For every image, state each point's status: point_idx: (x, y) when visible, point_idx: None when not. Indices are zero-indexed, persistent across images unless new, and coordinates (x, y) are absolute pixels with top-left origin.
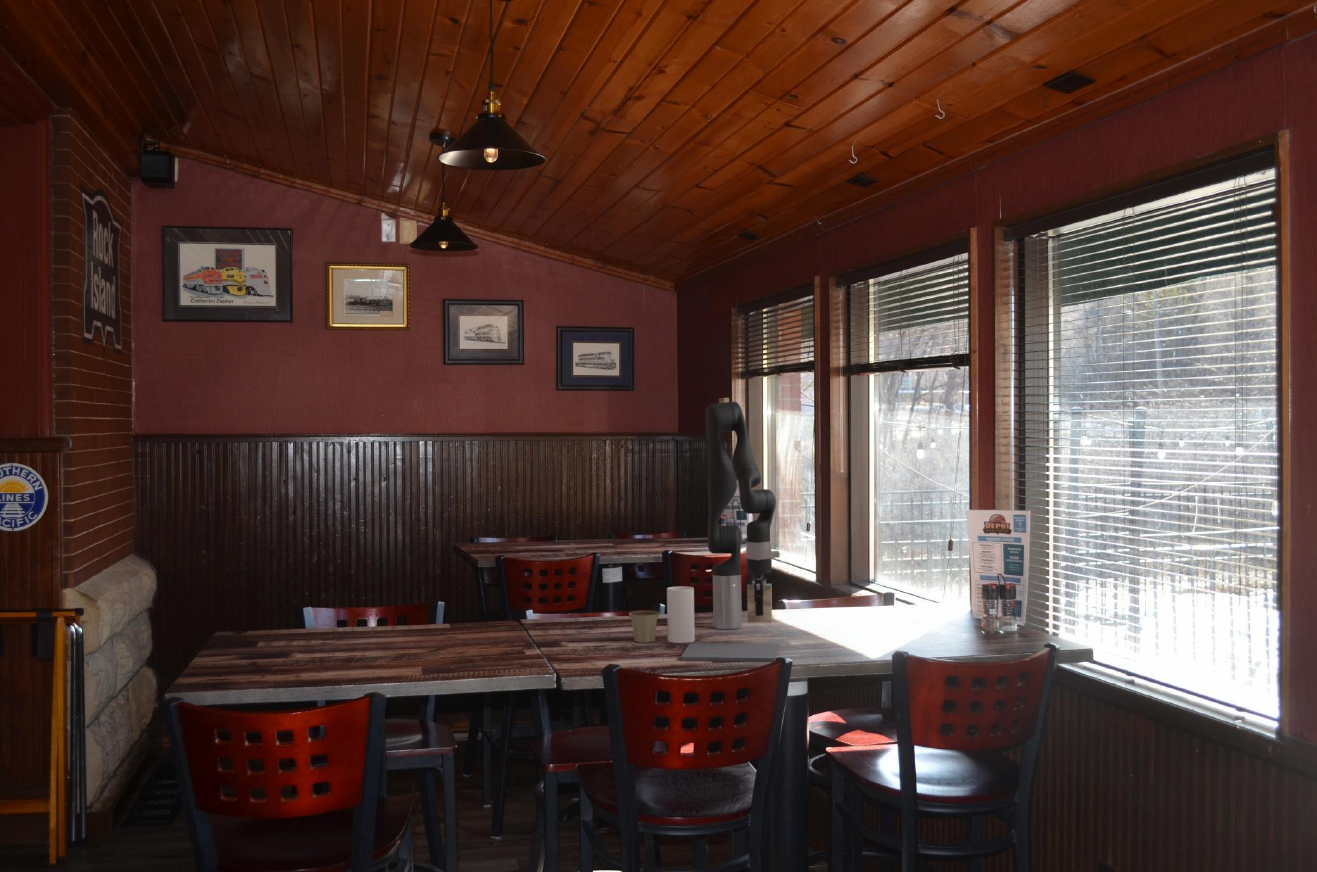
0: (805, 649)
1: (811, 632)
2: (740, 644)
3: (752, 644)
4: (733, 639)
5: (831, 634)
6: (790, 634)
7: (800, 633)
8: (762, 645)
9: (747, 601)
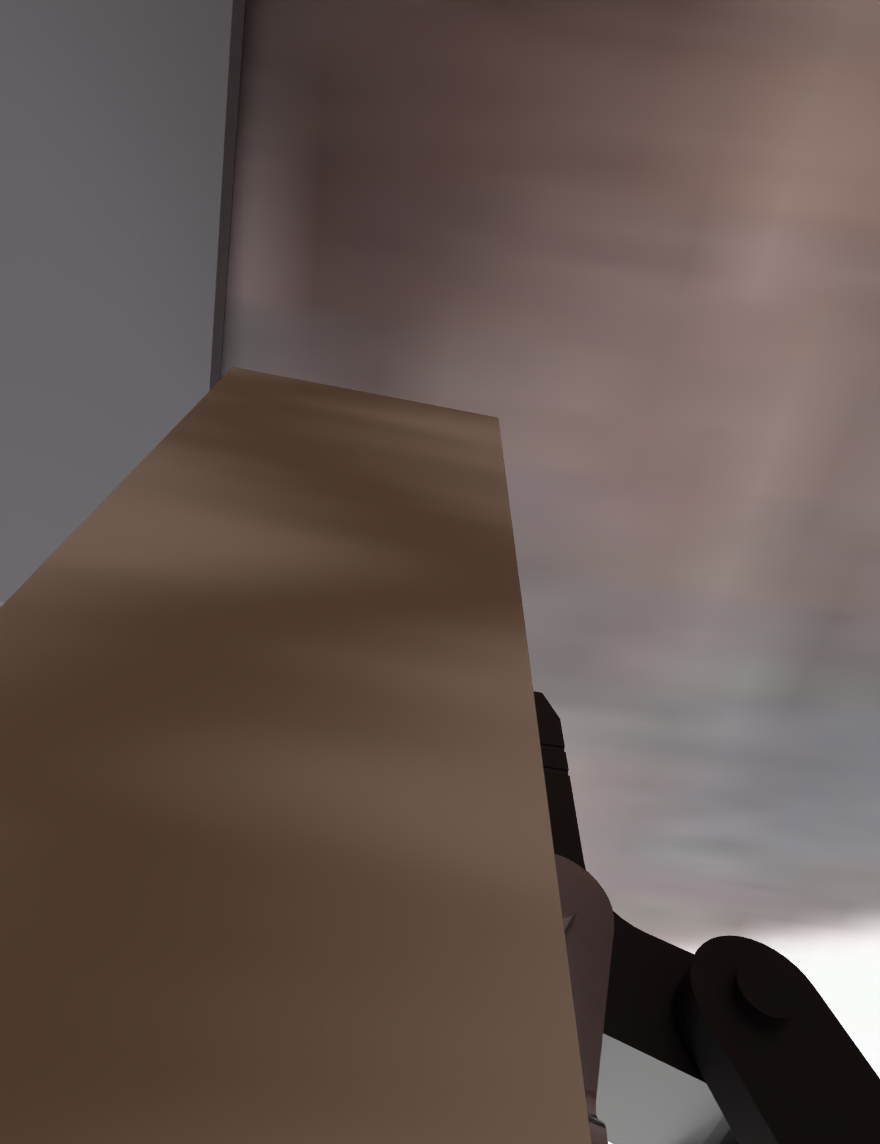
0: None
1: (870, 931)
2: (86, 147)
3: (101, 331)
4: (791, 119)
5: None
6: (850, 789)
7: (862, 861)
8: (39, 448)
9: (21, 588)
